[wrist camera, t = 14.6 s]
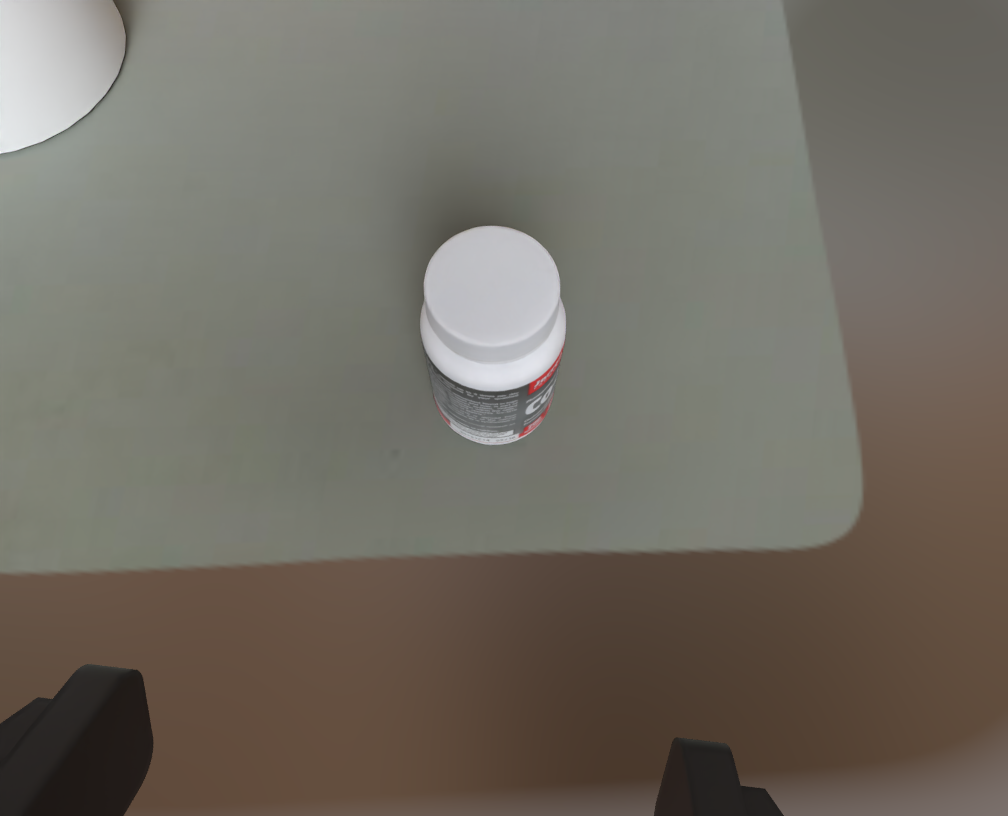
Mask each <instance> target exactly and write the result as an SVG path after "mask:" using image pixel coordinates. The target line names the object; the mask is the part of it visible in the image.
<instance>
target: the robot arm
mask: <svg viewBox="0 0 1008 816" xmlns="http://www.w3.org/2000/svg"><path fill="white" fill-rule="evenodd" d="M152 753H153V735H152V729H151V723H150V717H149V711H148V705H147V699H146V693H145V687H144V682H143V677H142V675H141V673H140V672H139V671H138V670H133V669H125V668H116V667H108V666H100V665H92V664H87V665H84V666H82V667H80V668H79V669H78V670H77V671H76V672H75V673H74V674H73V675H72V676H71V677H70V678H69V680H68V681H67V682H66V683H65V685H64V686H63V687H62V688H61V690H60V691H59V692H58V693H57V694H56V696H55V697H54V698H53V699H47V698H36V699H35V700H33V701H32V702H31V703H29V704H28V705H26V706H25V707H24V708H22V709H21V710H19V711H18V712H16V713H15V714H13V715H12V716H11V717H9V718H8V719H6V720H5V721H3V722H2V723H1V724H0V816H123V815H124V814H125V812H126V811H127V809H128V807H129V805H130V804H131V802H132V800H133V799H134V797H135V795H136V794H137V792H138V790H139V788H140V787H141V785H142V783H143V781H144V779H145V777H146V774H147V771H148V768H149V765H150V762H151V758H152ZM654 816H784V815H783V814H782V813H781V811H780V810H779V808H778V807H777V805H776V804H775V802H774V801H773V800H772V798H771V797H770V795H769V794H768V792H767V791H766V790H765V789H762V788H754V787H746V786H740V782H739V778H738V774H737V770H736V766H735V763H734V758H733V755H732V752H731V750H730V748H729V746H728V745H727V744H725V743H718V742H710V741H702V740H693V739H685V738H675V739H674V740H673V742H672V746H671V749H670V753H669V756H668V760H667V764H666V768H665V771H664V775H663V779H662V783H661V786H660V790H659V794H658V798H657V801H656V806H655V812H654Z"/></svg>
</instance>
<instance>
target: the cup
mask: <svg viewBox="0 0 1008 816" xmlns="http://www.w3.org/2000/svg"><path fill="white" fill-rule="evenodd" d="M125 41H126V34H125V30H124V25H123V21H122V17H121V15H120V13H119V11H118V9H117V7H116V6H115V4H114V2H113V0H0V153H6V152H12V151H16V150H19V149H22V148H25V147H28V146H31V145H34V144H37V143H40V142H43V141H45V140H47V139H48V138H50V137H52V136H54V135H56V134H58V133H60V132H62V131H64V130H66V129H67V128H69V127H70V126H71V125H73V124H74V123H75V122H77V121H78V120H79V119H81V118H82V117H83V116H85V115H86V114H87V113H89V111H90V110H91V109H92V108H93V107H94V106H95V105H96V104H97V103H98V102H99V101H100V100H101V99H102V98H103V97H104V96H105V94H106V93H107V91H108V90H109V88H110V87H111V85H112V83H113V82H114V80H115V79H116V77H117V75H118V73H119V70H120V67H121V64H122V61H123V58H124V55H125Z"/></svg>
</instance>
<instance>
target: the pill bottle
mask: <svg viewBox="0 0 1008 816" xmlns="http://www.w3.org/2000/svg"><path fill="white" fill-rule="evenodd" d="M424 298H425V300H424V303H423V306H422V310H421V316H420V331H421V339H422V344H423V349H424V353H425V357H426V362H427V366H428V371H429V375H430V380H431V385H432V390H433V395H434V399H435V402H436V405H437V408H438V410H439V413H440V414H441V416H442V418H443V419H444V421H445V422H446V423H447V424H448V425H449V426H450V427H451V428H452V429H453V430H454V431H455V432H457V433H458V434H460V435H461V436H463V437H465V438H467V439H469V440H472V441H474V442H478V443H482V444H488V445H500V444H506V443H510V442H513V441H517V440H519V439H521V438H523V437H525V436H526V435H528V434H529V433H531V432H532V431H533V430H534V429H535V428H536V427H537V426H538V425H539V424H540V423H541V422H542V420H543V419H544V417H545V416H546V414H547V412H548V410H549V408H550V405H551V402H552V398H553V393H554V388H555V384H556V379H557V374H558V370H559V365H560V361H561V356H562V352H563V347H564V343H565V337H566V314H565V309H564V306H563V303H562V300H561V298H560V278H559V273H558V270H557V267H556V264H555V262H554V260H553V259H552V257H551V256H550V254H549V253H548V251H547V250H546V249H545V248H544V247H543V246H542V245H541V244H540V243H539V242H538V241H536V240H535V239H534V238H532V237H531V236H529V235H527V234H525V233H523V232H521V231H518V230H515V229H512V228H508V227H503V226H481V227H475V228H472V229H468V230H465V231H463V232H461V233H459V234H457V235H455V236H453V237H451V238H450V239H449V240H447V241H446V242H445V243H444V244H443V245H441V246H440V247H439V249H438V250H437V251H436V252H435V254H434V255H433V257H432V258H431V260H430V262H429V264H428V267H427V269H426V273H425V278H424Z"/></svg>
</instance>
